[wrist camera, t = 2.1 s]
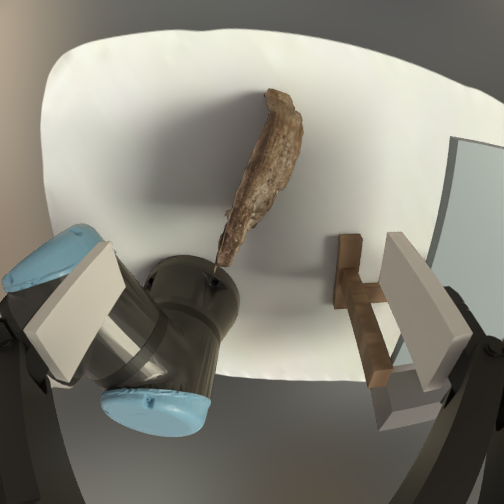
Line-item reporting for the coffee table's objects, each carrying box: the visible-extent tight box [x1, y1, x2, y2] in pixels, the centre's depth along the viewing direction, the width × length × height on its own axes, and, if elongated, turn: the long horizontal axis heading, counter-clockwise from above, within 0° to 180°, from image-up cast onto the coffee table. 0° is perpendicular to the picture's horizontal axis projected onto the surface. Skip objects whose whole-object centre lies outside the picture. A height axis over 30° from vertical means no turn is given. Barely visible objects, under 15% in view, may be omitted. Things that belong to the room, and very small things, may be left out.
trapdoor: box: [370, 136, 504, 431], centre depth 22 cm, size 16×33×7 cm, turn 4°
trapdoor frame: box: [333, 234, 504, 388], centre depth 33 cm, size 22×12×20 cm, turn 94°
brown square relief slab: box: [214, 89, 303, 273], centre depth 28 cm, size 17×4×15 cm, turn 161°
